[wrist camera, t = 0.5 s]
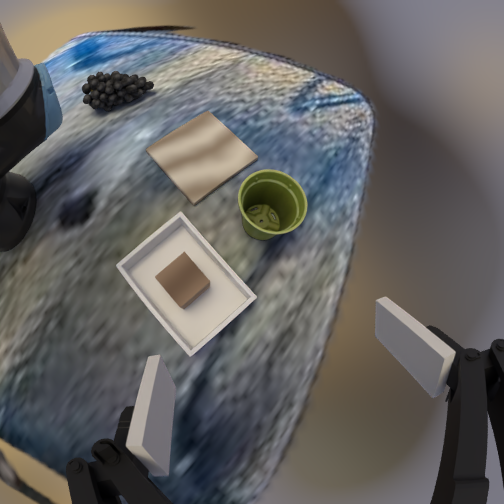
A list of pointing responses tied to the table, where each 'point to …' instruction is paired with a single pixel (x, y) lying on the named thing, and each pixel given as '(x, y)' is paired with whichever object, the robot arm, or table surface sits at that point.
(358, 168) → the table surface
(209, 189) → the ash board
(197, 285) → the walnut block
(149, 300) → the grey tray
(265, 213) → the plant pot
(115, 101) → the fruit
